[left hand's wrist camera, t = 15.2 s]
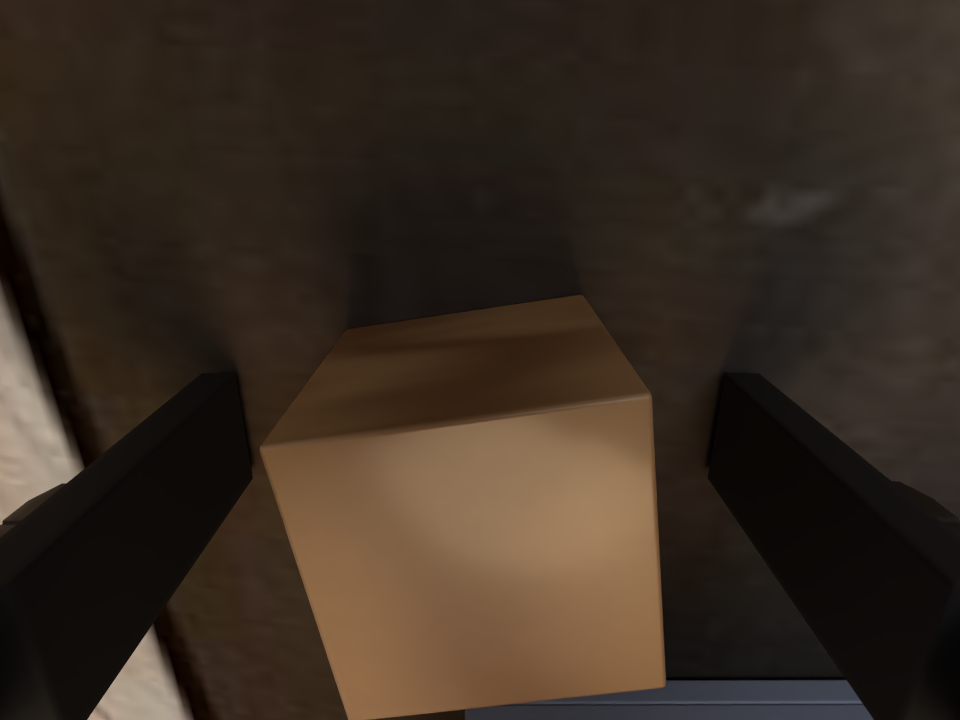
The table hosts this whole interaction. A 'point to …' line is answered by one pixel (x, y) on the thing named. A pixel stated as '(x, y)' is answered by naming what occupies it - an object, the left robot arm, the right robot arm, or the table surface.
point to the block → (476, 511)
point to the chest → (698, 703)
